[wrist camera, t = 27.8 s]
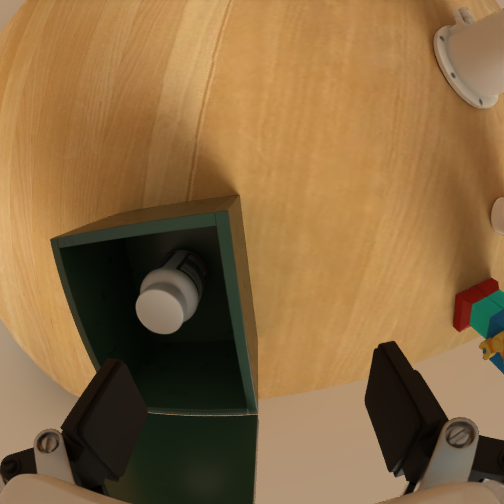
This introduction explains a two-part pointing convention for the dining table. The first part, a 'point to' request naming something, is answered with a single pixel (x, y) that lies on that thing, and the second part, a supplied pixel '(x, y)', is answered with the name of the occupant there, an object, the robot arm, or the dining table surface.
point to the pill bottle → (171, 291)
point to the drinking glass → (498, 216)
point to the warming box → (191, 331)
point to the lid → (191, 461)
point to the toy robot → (484, 318)
